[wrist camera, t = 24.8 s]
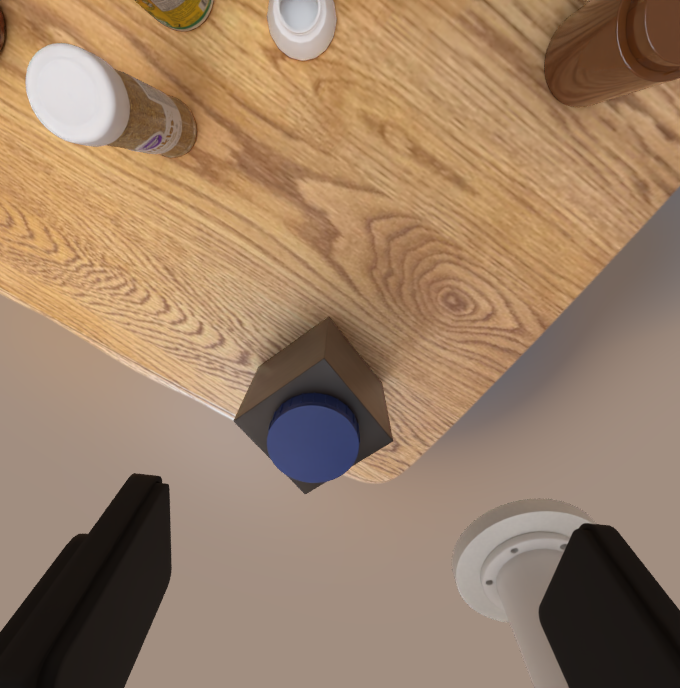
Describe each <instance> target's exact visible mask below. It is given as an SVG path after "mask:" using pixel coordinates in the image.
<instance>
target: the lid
mask: <svg viewBox="0 0 680 688" xmlns="http://www.w3.org/2000/svg"><path fill="white" fill-rule="evenodd" d="M268 431H269V432H268V436H267V450H268V453H269V456H270V458H271V460H272V461H273V463H274V464H275V466H276V467H277V468H278V469H279V470H280V471H281V472H283V473H284V474H286V475H287V476H289V477H291V478H293V479H295V480H299V481H302V482H308V483H320V482H326V481H330V480H333V479H335V478H337V477H339V476H341V475H343V474H344V473H345V472H346V471H348V470H349V469H350V467H351V466H352V465H353V464H354V462H355V460H356V458H357V455H358V452H359V444H360V433H359V424H358V423H357V421H356V418H355V414H353V413H352V411H351V410H350V409H349V408H348V406H347V405H345V404H344V403H343V402H341V401H340V400H339V399H338V398H337V399H336V398H334V397H332V396H329V395H327V394H326V395H325V394H320V393H315V392H314V393H307V394H302V395H298V396H295V397H293V398H292V397H291V399H289V400H287V401H286V402H285V403H282V404H281V406H280V407H279V408H278V410H277V411H275V413H274V416H273V419H272V421H271V422H270V425H269V428H268Z"/></svg>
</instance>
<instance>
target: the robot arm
mask: <svg viewBox="0 0 680 688" xmlns="http://www.w3.org/2000/svg"><path fill="white" fill-rule="evenodd" d="M169 498H170V497H169V485H168V484H163V483H162V479H161V477H160V476H153V475H144V474H135V473H134V474H132V475H131V476H130V477H129V478H128V480H127V481H126V482H125V484H124V485H123V487H122V488H121V489H120V491H119V492H118V494H117V495H116V496H115V498H114V499H113V500H112V502H111V503H110V505H109V506H108V507H107V509H106V510H105V512H104V513H103V514H102V516H101V517H100V518H99V520H98V522H97V523H96V524H95V526H94V527H93V528H92V530H91V531H90V532H89V534H78V535H77V536H75V537H73V538H72V539H71V541H70V542H69V543H68V544H67V545H66V546H65V548H64V549H63V550H62V552H61V553H60V554H59V556H58V557H57V558H56V560H55V561H54V562H53V563H52V565H51V566H50V568H49V569H48V570H47V571H46V573H45V574H44V575H43V577H42V578H41V579H40V581H39V582H38V583H37V585H36V586H35V587H34V589H33V590H32V591H31V593H30V594H29V595H28V596H27V598H26V599H25V600H24V602H23V603H22V604H21V606H20V607H19V608H18V610H17V611H16V612H15V614H14V615H13V616H12V618H11V619H10V620H9V621H8V623H7V624H6V625H5V627H4V628H3V629H2V631H1V632H0V688H124V687H125V684H126V682H127V680H128V677H129V675H130V673H131V670H132V668H133V666H134V664H135V661H136V659H137V657H138V654H139V652H140V650H141V647H142V645H143V643H144V640H145V638H146V635H147V633H148V631H149V629H150V626H151V624H152V622H153V619H154V617H155V615H156V612H157V610H158V608H159V605H160V603H161V601H162V599H163V596H164V594H165V592H166V589H167V587H168V584H169V581H170V576H171V537H170V536H171V534H170V533H171V532H170V499H169ZM480 580H481V584H482V587H483V591H484V593H485V595H486V597H487V598H488V599H489V600H490V602H491V603H492V604H494V605H495V606H497V607H498V608H500V609H502V610H504V611H505V612H506V615H507V617H508V620H509V622H510V625H511V628H512V630H513V633H514V636H515V638H516V641H517V643H518V646H519V649H520V652H521V654H522V657H523V660H524V662H525V665H526V668H527V670H528V673H529V675H530V678H531V681H532V684H533V686H534V688H680V610H679V609H678V608H677V606H676V605H675V604H674V603H673V601H672V600H671V599H670V598H669V596H668V595H667V594H666V593H665V591H664V590H663V589H662V587H661V586H660V585H659V583H658V582H657V581H656V580H655V578H654V577H653V576H652V575H651V573H650V572H649V571H648V570H647V568H646V567H645V566H644V564H643V563H642V562H641V561H640V559H639V558H638V557H637V556H636V554H635V553H634V552H633V550H632V549H631V548H630V546H629V545H628V544H627V543H626V541H625V540H624V539H623V538H622V536H621V535H620V534H619V533H618V531H617V530H616V529H614V528H613V527H611V526H608V525H599V524H590V523H584V524H582V525H581V526H580V527H579V529H576V530H574V531H573V533H572V535H571V537H570V538H569V537H567V536H564V535H561V534H558V533H551V532H533V533H527V534H523V535H519V536H516V537H514V538H511V539H509V540H507V541H505V542H504V543H502V544H501V545H499V546H498V547H496V548H495V549H494V550H493V551H492V552H491V553H490V554H489V555H488V557H487V558H486V559H485V561H484V563H483V565H482V568H481V573H480Z"/></svg>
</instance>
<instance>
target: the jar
mask: <svg viewBox="0 0 680 688" xmlns="http://www.w3.org/2000/svg"><path fill="white" fill-rule="evenodd" d="M545 77H546V81H547V84H548V87H549V89H550V91H551V92H552V94H553V95H554V96H555V97H556V98H557V99H558V100H559V101H560V102H562V103H564V104H566V105H568V106H572V107H587V106H591V105H595V104H598V103H601V102H604V101H608V100H611V99H614V98H617V97H620V96H624V95H627V94H630V93H633V92H637V91H640V90H643V89H646V88H650V87H653V86H656V85H659V84H663V83H666V82H669V81H672V80H675V79H678V78H680V0H591V1H589V2H588V3H587V4H585V5H584V6H583V7H581V8H580V9H578V10H577V11H576V12H574V13H573V14H572V15H570V16H569V17H568V18H567V19H566V20H565V21H564V22H563V23H562V24H561V25H560V26H559V28H558V29H557V30H556V32H555V34H554V35H553V37H552V39H551V41H550V43H549V46H548V49H547V53H546V57H545Z"/></svg>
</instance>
